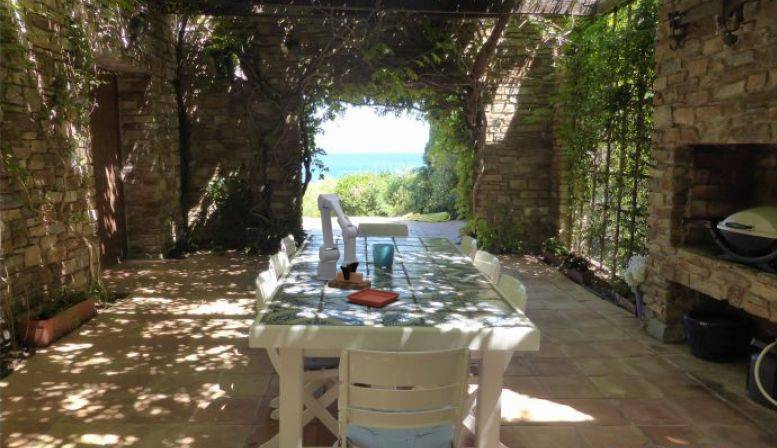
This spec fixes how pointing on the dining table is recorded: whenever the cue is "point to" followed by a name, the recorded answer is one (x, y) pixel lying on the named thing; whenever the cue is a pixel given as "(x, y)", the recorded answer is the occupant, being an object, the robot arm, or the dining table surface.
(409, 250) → the dining table surface
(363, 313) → the dining table surface
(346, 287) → the brown flat slab
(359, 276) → the tan stepped block
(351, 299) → the plant saucer
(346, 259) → the robot arm
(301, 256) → the dining table surface
